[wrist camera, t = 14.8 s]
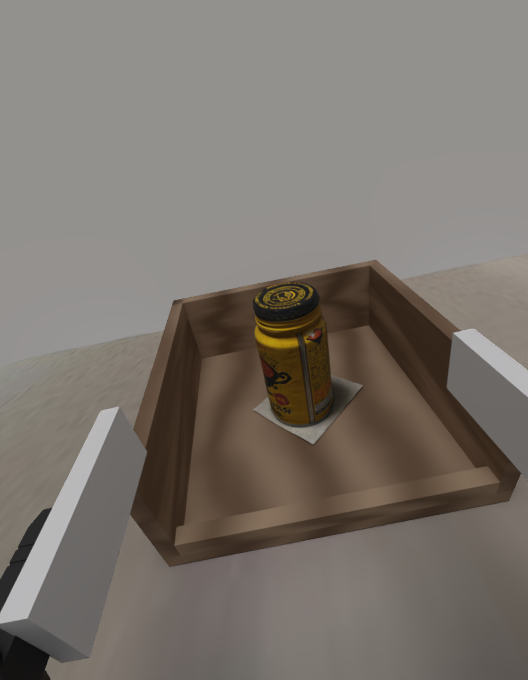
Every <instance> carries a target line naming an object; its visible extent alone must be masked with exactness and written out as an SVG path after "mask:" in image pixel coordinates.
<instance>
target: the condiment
mask: <svg viewBox="0 0 528 680" xmlns="http://www.w3.org/2000/svg"><path fill="white" fill-rule="evenodd" d="M319 299H320V297H319V294H318V292H317V291H316V289H315V288H314V287H313V286H311V285H309V284H306V283H302V282H285V283H279V284H276V285H272V286H269V287H267V288H265V289H263V290H262V291H260V292H259V293H258V294H257V295H256V296H255V298H254V299H253V309H254V313H255V321H256V325H257V326H256V327H255V340H256V345H257V349H258V353H259V357H260V361H261V366H262V370H263V375H264V380H265V384H266V389H267V393H268V397H267V398H266V399H265V400H264V401H262V402H261V403H260V404H259V405H258V406H257V407H256V408H254V409H253V410H254V411H255V412H257V413H259V414H261V415H262V416H264V417H266V418H267V419H269V420H270V421H272V422H274V423H275V424H277V425H279V426H281V427H283V428H284V429H286V430H288V431H290V432H291V433H293V434H295V435H297V436H300V437H301V438H303V439H305V440H306V441H308V442H310V443H311V444H314V443H315V442H316V441H317V440H318V439H319V437H320V436H321V435H322V434H323V433H324V432H325V431H326V429H327V428H328V427H329V426H330V425H331V424H332V423H333V421H334V420H335V419H336V418H337V417H338V415H339V414H340V413H341V412H342V410H343V409H344V407H345V406H346V405H347V404H348V403H349V402H350V401H351V400H352V399H353V397H354V396H355V395H356V393H357V392H358V391H359V390H360V388H361V387H362V386H363V385H360V384H358V383H353V382H351V381H348V380H345V379H343V378H339V377H336V376H334V375H332V374H331V371H330V358H329V357H330V356H329V345H328V333H327V323H326V321H325V319H324V317H323V316H322V311H321V307H320V304H319V301H320V300H319Z"/></svg>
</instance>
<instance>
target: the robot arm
mask: <svg viewBox="0 0 528 680" xmlns="http://www.w3.org/2000/svg"><path fill="white" fill-rule="evenodd" d="M447 389H448V390H449V391H450V392H451V393H452V395H453V396H454V397H455V398H456V399H457V400H458V401H459V403H460V404H461V405H462V406H463V407H464V408H465V409H466V411H467V412H468V413H469V414H470V415H471V416H472V417H473V419H474V420H475V421H476V422H477V423H478V424H479V425H480V427H481V428H482V429H483V430H484V431H485V432H486V433H487V435H488V436H489V437H490V438H491V439H492V440H493V441H494V443H495V444H496V445H497V446H498V447H499V448H500V449H501V451H502V452H503V453H504V454H505V455H506V456H507V457H508V459H509V460H510V461H511V462H512V463H513V464H514V465H515V467H516V468H517V469H518V470H519V471H520V472H521V473H522V475H523V476H524V477H525V478H526V479H527V480H528V370H527V369H526V368H524V367H523V366H522V365H520V364H519V363H518V362H517V361H515V360H514V359H513V358H511V357H510V356H509V355H507V354H506V353H505V352H504V351H502V350H501V349H500V348H498V347H497V346H496V345H494V344H493V343H492V342H491V341H489V340H488V339H487V338H485V337H484V336H483V335H481V334H480V333H479V332H478V331H476V330H475V329H474V328H472V329H468V330H463V331H459V332H454V333H453V337H452V345H451V354H450V362H449V371H448V380H447ZM146 455H147V451H146V449H145V447H144V446H143V444H142V442H141V441H140V439H139V438H138V436H137V434H136V433H135V431H134V430H133V428H132V426H131V425H130V423H129V421H128V420H127V418H126V417H125V415H124V413H123V412H122V410H121V408H120V407H115V408H111V409H106V410H102V411H100V413H99V415H98V417H97V419H96V421H95V423H94V425H93V427H92V429H91V431H90V433H89V435H88V437H87V439H86V441H85V443H84V445H83V447H82V450H81V452H80V454H79V456H78V458H77V460H76V462H75V464H74V466H73V468H72V470H71V472H70V474H69V476H68V478H67V480H66V482H65V484H64V486H63V488H62V490H61V492H60V494H59V496H58V498H57V500H56V502H55V504H54V506H53V508H49V509H44V510H43V511H42V512H41V513H40V514H39V515H38V517H37V518H36V519H35V520H34V521H33V522H32V524H31V525H30V526H29V527H28V529H27V531H26V533H25V535H24V536H23V538H22V540H21V542H20V544H19V546H18V550H16V551H15V553H14V555H13V557H12V559H11V561H10V566H8V567H7V568H6V570H5V572H4V574H3V576H2V578H1V579H0V680H50V677H49V675H48V674H47V672H46V671H45V668H46V665H47V662H48V659H49V656H51V657H52V658H54V659H56V660H58V661H59V662H61V663H64V662H70V661H75V660H80V659H86V658H90V655H91V651H92V648H93V644H94V641H95V637H96V633H97V630H98V626H99V623H100V619H101V616H102V612H103V608H104V605H105V601H106V598H107V594H108V591H109V587H110V583H111V580H112V576H113V573H114V569H115V566H116V562H117V558H118V555H119V551H120V548H121V544H122V541H123V537H124V533H125V530H126V526H127V523H128V519H129V515H130V512H131V508H132V505H133V501H134V498H135V494H136V490H137V487H138V483H139V480H140V476H141V473H142V469H143V465H144V462H145V458H146Z"/></svg>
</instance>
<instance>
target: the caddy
mask: <svg viewBox="0 0 528 680" xmlns="http://www.w3.org/2000/svg"><path fill="white" fill-rule="evenodd" d="M285 282H302V283H306V284H309V285H311V286H313V287H314V288H315V289H316V291H317V292H318V294H319V297H320V299H319V300H320V301H319V304H320V307H321V311H322V316H323V317H324V319H325V321H326V323H327V333H328V345H329V356H330V357H329V358H330V371H331V374H332V375H334V376H336V377H339V378H343V379H345V380H348V381H351V382H353V383H358V384H360V385H363V386H362V387H361V388H360V390H359V391H358V392H357V393H356V395H355V396H354V397H353V399H352V400H351V401H350V402H349V403H348V404H347V405H346V406H345V407H344V409H343V410H342V412H341V413H340V414H339V415H338V417H337V418H336V419H335V420H334V421H333V423H332V424H331V425H330V426H329V427H328V428H327V429H326V431H325V432H324V433H323V434H322V435H321V436H320V437H319V439H318V440H317V441H316V442H315V443H314V444H311V443H310V442H308V441H306V440H305V439H303V438H301V437H300V436H297V435H295V434H293V433H291V432H290V431H288V430H286V429H284V428H283V427H281V426H279V425H277V424H275V423H274V422H272V421H270V420H269V419H267V418H266V417H264V416H262V415H261V414H259V413H257V412H255V411H254V410H253V409H254V408H256V407H257V406H258V405H259V404H260V403H261V402H262V401H264V400H265V399H266V398H267V397H268V393H267V389H266V384H265V380H264V375H263V370H262V366H261V361H260V357H259V353H258V349H257V345H256V340H255V327H256V326H257V325H256V321H255V313H254V309H253V299H254V298H255V296H256V295H257V294H258V293H259V292H260V291H262V290H263V289H265V288H267V287H269V286H272V285H276V284H279V283H285ZM459 331H460V330H459V329H458V328H457V327H456V326H454V325H453V324H452V323H451V322H450V321H448V320H447V319H446V318H445V317H444V316H442V315H441V314H440V313H439V312H438V311H436V310H435V309H434V308H433V307H432V306H430V305H429V304H428V303H427V302H426V301H424V300H423V299H422V298H421V297H420V296H418V295H417V294H416V293H415V292H414V291H413V290H411V289H410V288H409V287H408V286H407V285H405V284H404V283H403V282H402V281H401V280H399V279H398V278H397V277H396V276H395V275H393V274H392V273H391V272H390V271H389V270H387V269H386V268H385V267H384V266H383V265H381V264H380V263H379V262H378V261H377V260H373V261H368V262H363V263H358V264H353V265H348V266H343V267H338V268H333V269H328V270H323V271H318V272H313V273H309V274H304V275H298V276H294V277H288V278H283V279H279V280H274V281H268V282H264V283H258V284H254V285H249V286H244V287H239V288H234V289H229V290H224V291H219V292H214V293H209V294H204V295H199V296H194V297H189V298H184V299H179V300H174V301H173V304H172V307H171V311H170V314H169V317H168V320H167V323H166V327H165V330H164V333H163V336H162V339H161V342H160V346H159V349H158V352H157V355H156V358H155V362H154V365H153V368H152V371H151V374H150V378H149V381H148V384H147V387H146V390H145V394H144V397H143V400H142V403H141V406H140V409H139V413H138V416H137V419H136V422H135V425H134V429H133V430H134V431H135V433H136V434H137V436H138V438H139V439H140V441H141V442H142V444H143V446H144V447H145V449H146V451H147V455H146V458H145V462H144V465H143V469H142V473H141V476H140V480H139V483H138V487H137V490H136V494H135V498H134V501H133V505H132V508H131V512H130V515H131V516H132V518H133V519H134V520H135V521H136V523H137V524H138V525H139V527H140V528H141V529H142V531H143V532H144V533H145V535H146V536H147V537H148V539H149V540H150V541H151V543H152V544H153V545H154V547H155V548H156V549H157V551H158V552H159V553H160V555H161V556H162V557H163V559H164V560H165V561H166V563H167V564H168V565H169V567H170V566H175V565H180V564H185V563H190V562H195V561H201V560H206V559H211V558H216V557H221V556H226V555H232V554H237V553H242V552H247V551H252V550H257V549H262V548H268V547H273V546H278V545H283V544H288V543H293V542H299V541H304V540H309V539H314V538H319V537H324V536H329V535H335V534H340V533H345V532H350V531H355V530H360V529H366V528H371V527H376V526H381V525H386V524H391V523H396V522H402V521H407V520H412V519H417V518H422V517H427V516H433V515H438V514H443V513H448V512H453V511H458V510H463V509H469V508H474V507H479V506H484V505H489V504H494V503H499V502H505V501H509V499H510V497H511V495H512V492H513V490H514V488H515V486H516V483H517V481H518V479H519V477H520V475H521V472H520V471H519V470H518V469H517V468H516V467H515V465H514V464H513V463H512V462H511V461H510V460H509V459H508V457H507V456H506V455H505V454H504V453H503V452H502V451H501V449H500V448H499V447H498V446H497V445H496V444H495V443H494V441H493V440H492V439H491V438H490V437H489V436H488V435H487V433H486V432H485V431H484V430H483V429H482V428H481V427H480V425H479V424H478V423H477V422H476V421H475V420H474V419H473V417H472V416H471V415H470V414H469V413H468V412H467V411H466V409H465V408H464V407H463V406H462V405H461V404H460V403H459V401H458V400H457V399H456V398H455V397H454V396H453V395H452V393H451V392H450V391H449V390H448V389H447V380H448V371H449V362H450V354H451V345H452V337H453V333H454V332H459Z"/></svg>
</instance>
